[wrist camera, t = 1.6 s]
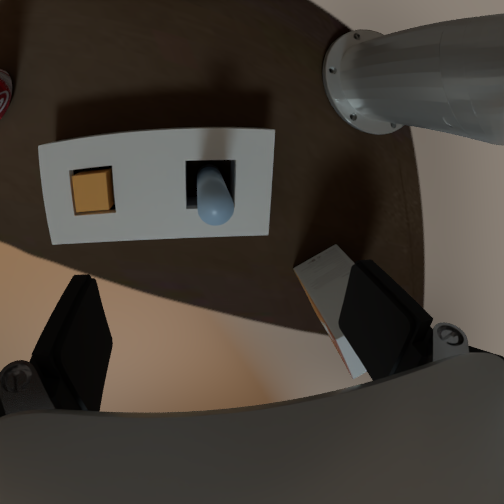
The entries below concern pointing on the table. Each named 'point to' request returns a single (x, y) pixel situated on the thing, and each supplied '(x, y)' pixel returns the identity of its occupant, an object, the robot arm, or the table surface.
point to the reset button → (93, 190)
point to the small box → (330, 298)
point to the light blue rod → (213, 196)
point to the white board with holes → (157, 183)
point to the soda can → (5, 91)
